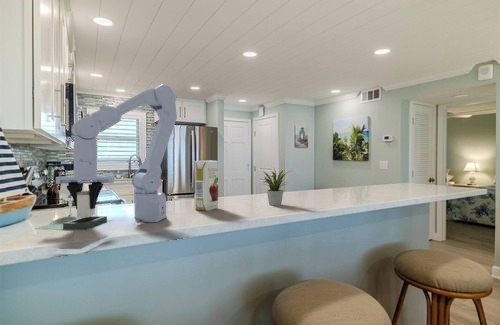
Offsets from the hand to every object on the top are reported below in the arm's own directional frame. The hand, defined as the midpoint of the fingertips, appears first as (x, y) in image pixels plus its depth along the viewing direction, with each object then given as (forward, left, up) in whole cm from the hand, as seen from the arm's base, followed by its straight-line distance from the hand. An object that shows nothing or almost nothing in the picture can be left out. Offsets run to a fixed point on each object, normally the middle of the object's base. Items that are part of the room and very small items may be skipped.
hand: (85, 208), depth 81 cm
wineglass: (+14, -13, -6) cm, 20 cm away
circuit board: (+3, -1, -6) cm, 7 cm away
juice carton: (-27, -33, -6) cm, 43 cm away
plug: (0, 0, -2) cm, 2 cm away
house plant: (-55, -46, -6) cm, 72 cm away
